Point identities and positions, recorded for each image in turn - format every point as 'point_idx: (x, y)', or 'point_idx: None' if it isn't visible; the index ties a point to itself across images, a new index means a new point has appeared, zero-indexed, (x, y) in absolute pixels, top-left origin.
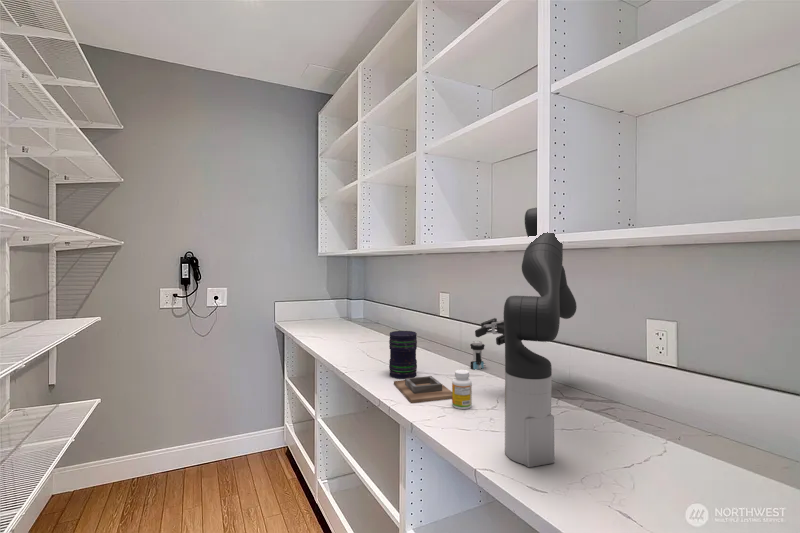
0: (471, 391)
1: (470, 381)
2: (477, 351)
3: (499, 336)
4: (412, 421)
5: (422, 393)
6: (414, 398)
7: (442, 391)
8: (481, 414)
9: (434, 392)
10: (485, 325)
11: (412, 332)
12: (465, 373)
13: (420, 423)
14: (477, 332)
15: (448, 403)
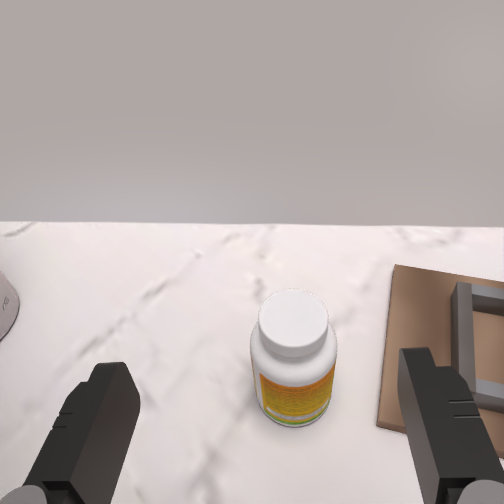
0: (259, 384)
1: (257, 356)
2: None
3: (101, 391)
4: (273, 224)
5: (444, 320)
6: (403, 277)
7: None
8: (193, 398)
9: (441, 363)
10: (482, 501)
11: None
12: (259, 310)
13: (252, 232)
14: (399, 363)
15: (339, 366)
